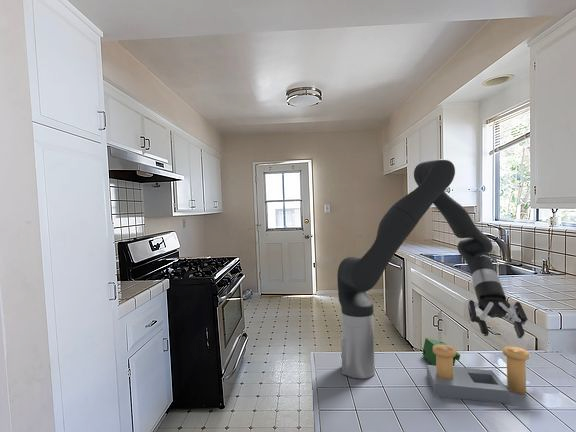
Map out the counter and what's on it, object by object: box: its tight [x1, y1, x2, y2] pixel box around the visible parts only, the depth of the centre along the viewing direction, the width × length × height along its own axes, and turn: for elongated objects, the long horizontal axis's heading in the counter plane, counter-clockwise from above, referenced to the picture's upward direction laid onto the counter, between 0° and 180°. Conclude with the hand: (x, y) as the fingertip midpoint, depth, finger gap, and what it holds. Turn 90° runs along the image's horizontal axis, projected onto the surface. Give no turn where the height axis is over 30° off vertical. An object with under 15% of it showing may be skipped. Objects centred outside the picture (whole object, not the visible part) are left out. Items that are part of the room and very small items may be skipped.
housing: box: [426, 344, 510, 404], centre depth 85 cm, size 16×11×10 cm, turn 77°
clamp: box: [422, 337, 461, 367], centre depth 100 cm, size 12×6×9 cm, turn 175°
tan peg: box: [502, 346, 530, 395], centre depth 84 cm, size 6×6×10 cm
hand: (503, 335), depth 91 cm, fingers open, 8 cm apart
